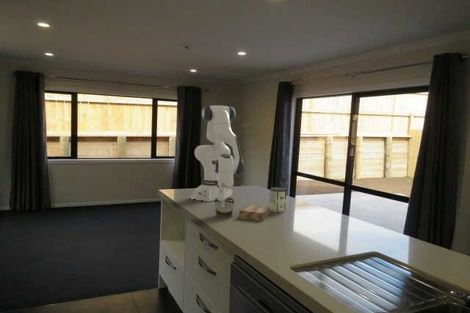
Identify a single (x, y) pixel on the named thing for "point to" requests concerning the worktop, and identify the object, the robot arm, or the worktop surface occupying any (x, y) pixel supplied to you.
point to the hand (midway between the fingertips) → (224, 205)
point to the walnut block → (254, 212)
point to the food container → (224, 210)
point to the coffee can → (278, 199)
